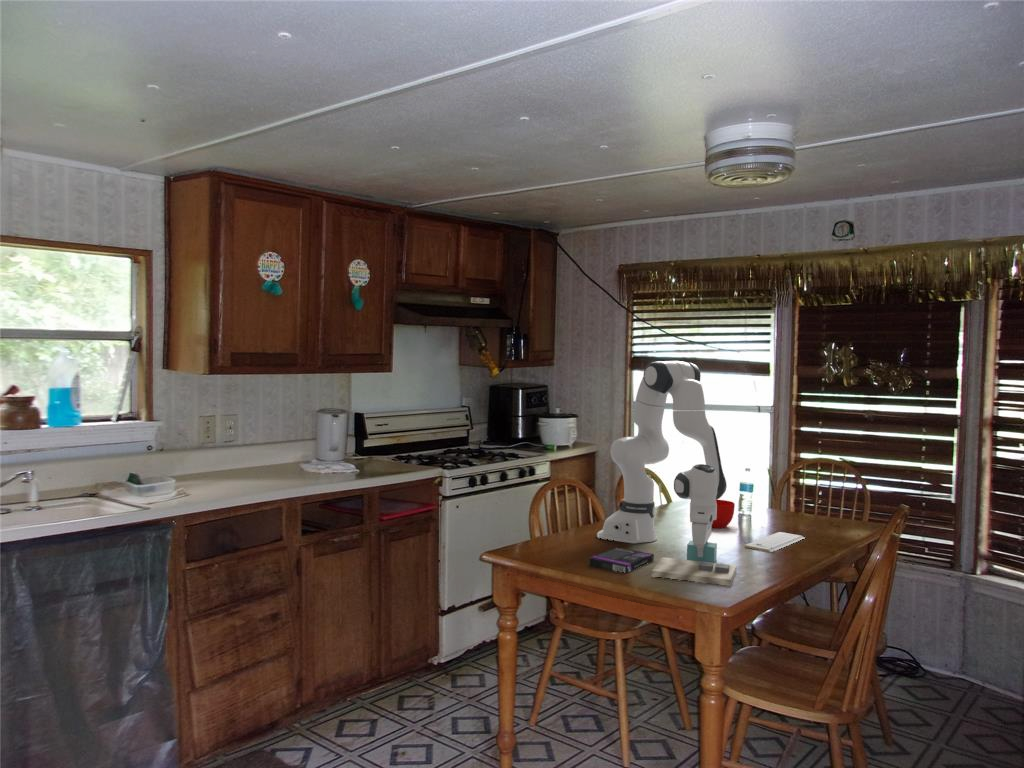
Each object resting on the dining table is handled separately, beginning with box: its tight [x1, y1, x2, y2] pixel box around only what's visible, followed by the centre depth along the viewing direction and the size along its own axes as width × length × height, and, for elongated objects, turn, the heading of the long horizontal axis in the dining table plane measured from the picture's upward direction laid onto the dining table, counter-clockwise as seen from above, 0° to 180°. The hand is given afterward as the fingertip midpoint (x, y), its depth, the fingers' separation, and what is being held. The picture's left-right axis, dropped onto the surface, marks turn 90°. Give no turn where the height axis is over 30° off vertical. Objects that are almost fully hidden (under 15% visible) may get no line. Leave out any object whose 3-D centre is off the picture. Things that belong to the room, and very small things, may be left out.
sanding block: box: [686, 540, 718, 563], centre depth 269 cm, size 9×6×6 cm
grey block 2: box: [715, 563, 731, 573], centre depth 250 cm, size 4×4×2 cm
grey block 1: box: [699, 562, 713, 572], centre depth 252 cm, size 4×4×2 cm
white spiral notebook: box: [743, 531, 806, 554], centre depth 298 cm, size 31×3×12 cm
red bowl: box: [712, 499, 735, 529], centre depth 327 cm, size 13×17×10 cm
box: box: [588, 546, 655, 574], centre depth 265 cm, size 14×4×20 cm
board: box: [651, 557, 737, 587], centre depth 253 cm, size 24×18×2 cm
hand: (702, 553), depth 269 cm, fingers closed on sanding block, 6 cm apart
